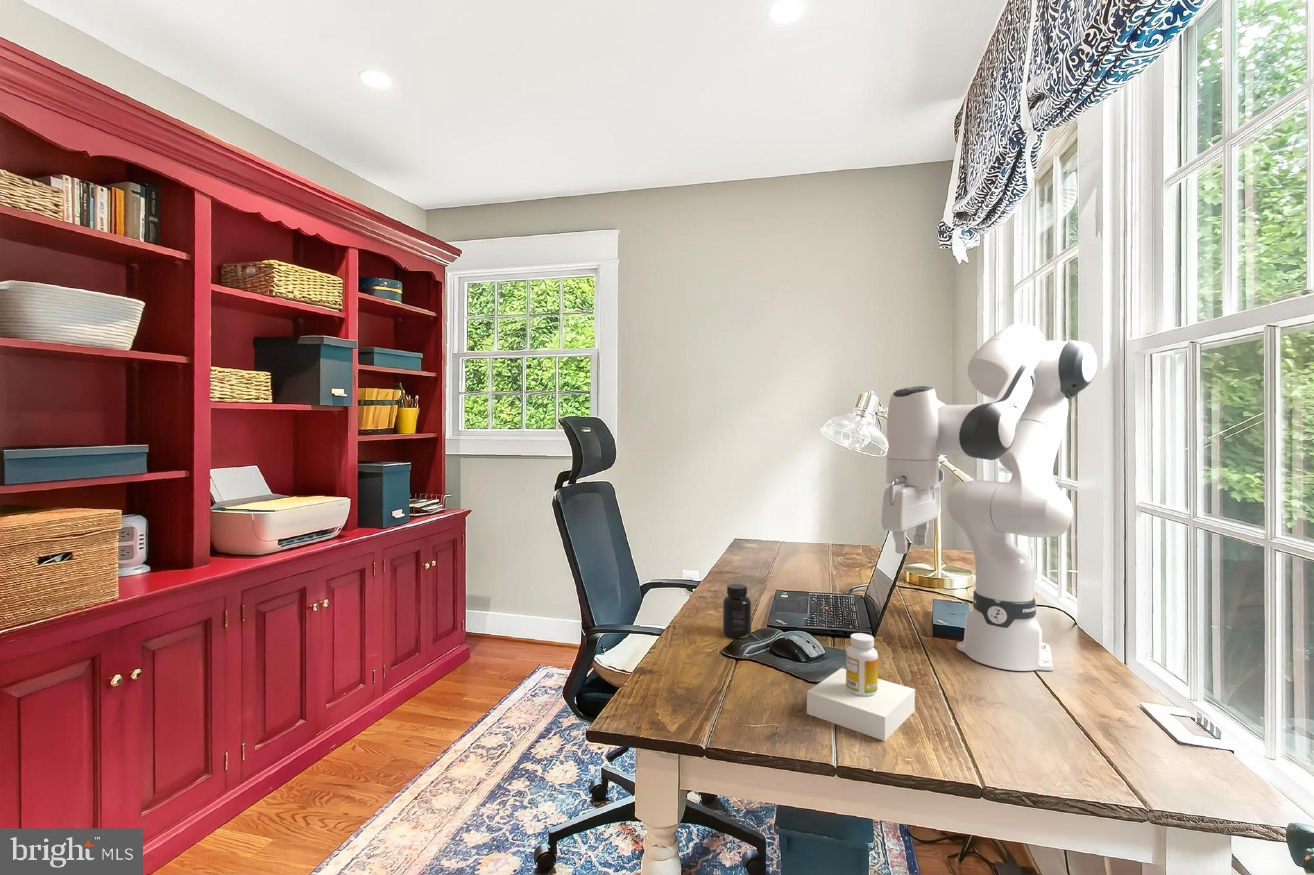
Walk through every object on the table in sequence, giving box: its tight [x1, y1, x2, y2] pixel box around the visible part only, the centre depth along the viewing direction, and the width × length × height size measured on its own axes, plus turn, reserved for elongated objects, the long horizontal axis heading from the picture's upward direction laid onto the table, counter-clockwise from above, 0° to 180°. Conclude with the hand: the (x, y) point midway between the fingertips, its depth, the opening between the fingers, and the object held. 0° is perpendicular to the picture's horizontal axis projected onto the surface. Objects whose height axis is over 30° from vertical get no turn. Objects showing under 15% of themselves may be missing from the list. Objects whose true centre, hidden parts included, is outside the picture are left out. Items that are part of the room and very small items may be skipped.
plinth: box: [806, 667, 916, 742], centre depth 109 cm, size 14×14×4 cm
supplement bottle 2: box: [845, 632, 879, 696], centre depth 109 cm, size 5×5×10 cm
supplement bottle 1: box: [722, 583, 752, 640], centre depth 149 cm, size 7×7×12 cm
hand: (911, 548), depth 113 cm, fingers open, 8 cm apart
